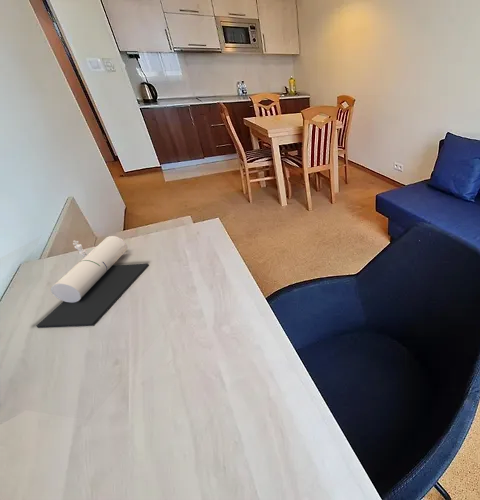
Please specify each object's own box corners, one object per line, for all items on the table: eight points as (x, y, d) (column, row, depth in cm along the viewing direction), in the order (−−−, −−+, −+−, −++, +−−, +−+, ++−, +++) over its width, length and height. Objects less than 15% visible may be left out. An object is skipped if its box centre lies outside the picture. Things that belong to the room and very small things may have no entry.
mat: (37, 327, 81) (35, 325, 81) (104, 267, 102) (102, 265, 102) (94, 325, 80) (92, 323, 80) (149, 265, 101) (148, 263, 101)
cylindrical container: (86, 300, 87) (131, 251, 108) (69, 281, 83) (119, 234, 104) (63, 304, 88) (112, 254, 108) (44, 286, 83) (99, 238, 104)
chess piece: (79, 268, 103) (61, 244, 97) (91, 260, 107) (74, 236, 101) (91, 269, 102) (73, 245, 96) (103, 260, 106) (86, 236, 100)
